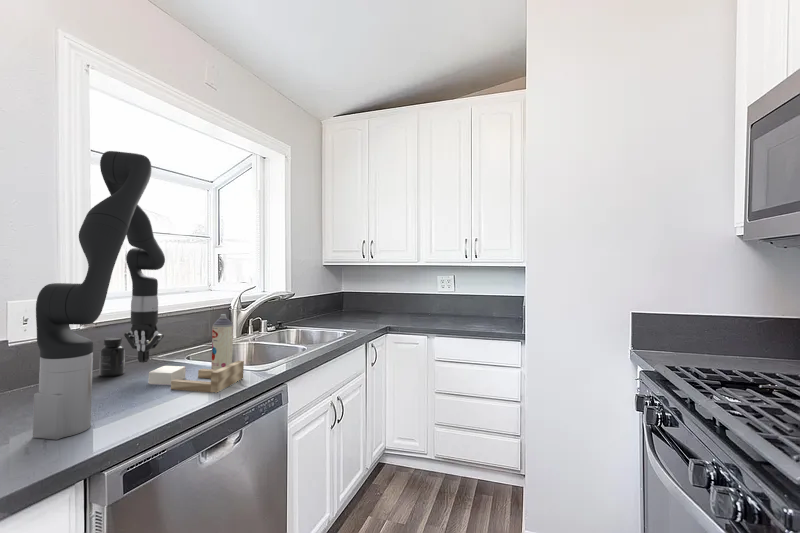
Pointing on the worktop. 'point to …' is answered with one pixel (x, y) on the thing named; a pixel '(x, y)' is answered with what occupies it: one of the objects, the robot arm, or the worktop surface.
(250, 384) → the worktop surface
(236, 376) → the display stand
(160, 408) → the worktop surface
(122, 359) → the supplement bottle
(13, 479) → the worktop surface
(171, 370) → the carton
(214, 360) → the aerosol can
